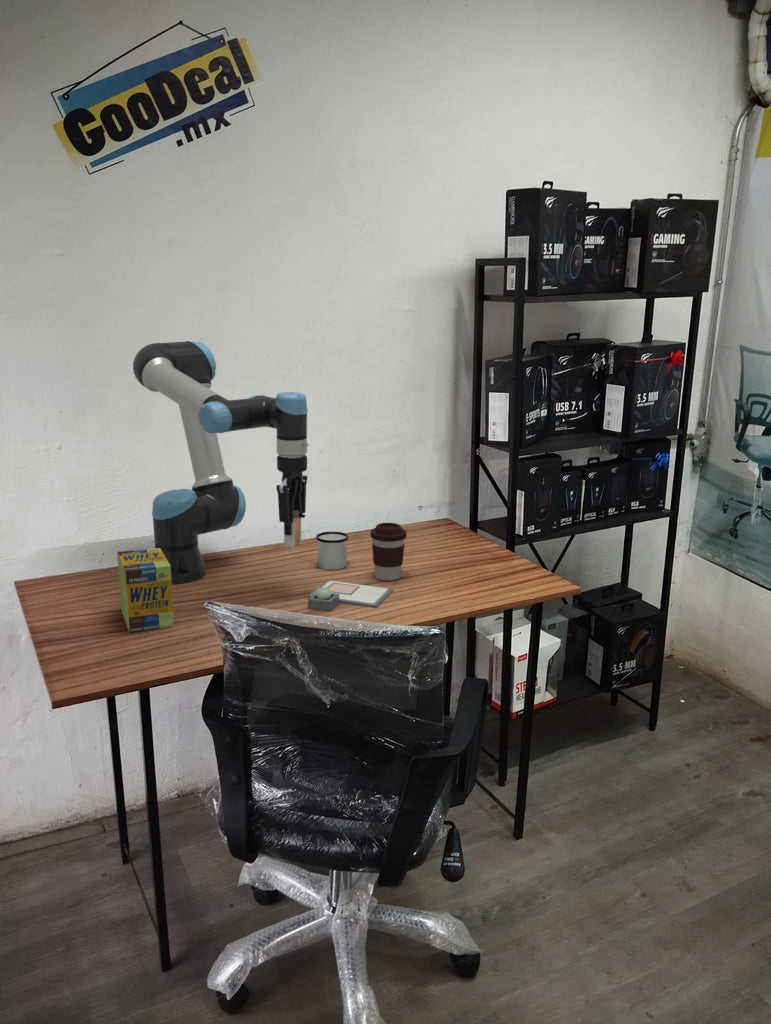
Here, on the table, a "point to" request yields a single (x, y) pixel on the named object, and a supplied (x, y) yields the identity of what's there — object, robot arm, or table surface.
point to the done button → (324, 593)
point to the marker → (296, 526)
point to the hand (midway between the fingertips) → (292, 544)
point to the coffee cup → (388, 550)
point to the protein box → (145, 589)
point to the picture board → (357, 593)
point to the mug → (332, 550)
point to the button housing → (323, 602)
